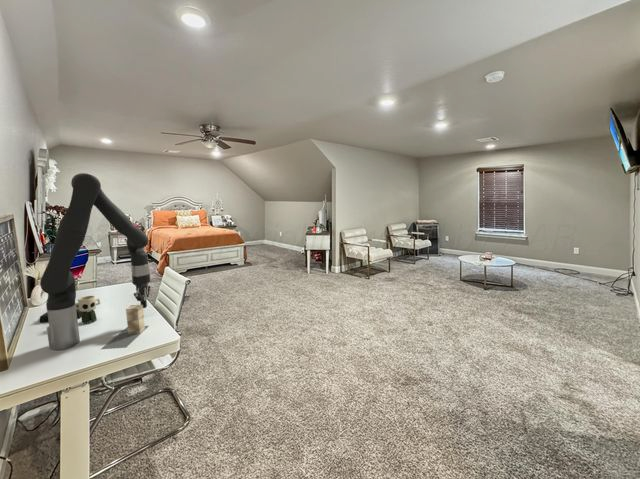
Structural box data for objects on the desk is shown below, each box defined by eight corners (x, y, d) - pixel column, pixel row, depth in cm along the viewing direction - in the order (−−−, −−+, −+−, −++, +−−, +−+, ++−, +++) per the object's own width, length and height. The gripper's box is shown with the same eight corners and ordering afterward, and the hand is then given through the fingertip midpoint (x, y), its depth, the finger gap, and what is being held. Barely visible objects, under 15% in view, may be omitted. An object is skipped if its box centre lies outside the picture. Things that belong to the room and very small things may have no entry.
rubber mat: (100, 351, 123) (100, 349, 123) (127, 328, 144) (127, 327, 144) (126, 349, 124) (126, 347, 124) (149, 327, 146) (149, 325, 146)
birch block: (128, 334, 137) (125, 309, 135) (133, 329, 141) (131, 305, 140) (140, 333, 137) (137, 308, 136) (144, 328, 142) (142, 304, 141)
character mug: (77, 327, 147) (74, 301, 145) (74, 323, 151) (71, 299, 149) (104, 320, 155) (101, 296, 153) (99, 317, 160) (97, 293, 158)
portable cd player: (56, 312, 168) (55, 305, 167) (92, 309, 173) (91, 302, 172) (39, 324, 152) (38, 316, 152) (79, 319, 157) (78, 312, 157)
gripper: (138, 270, 151) (142, 303, 153) (125, 277, 138) (129, 313, 140) (154, 270, 152) (157, 302, 154) (142, 276, 139) (146, 312, 141)
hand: (144, 307), depth 147 cm, fingers closed
